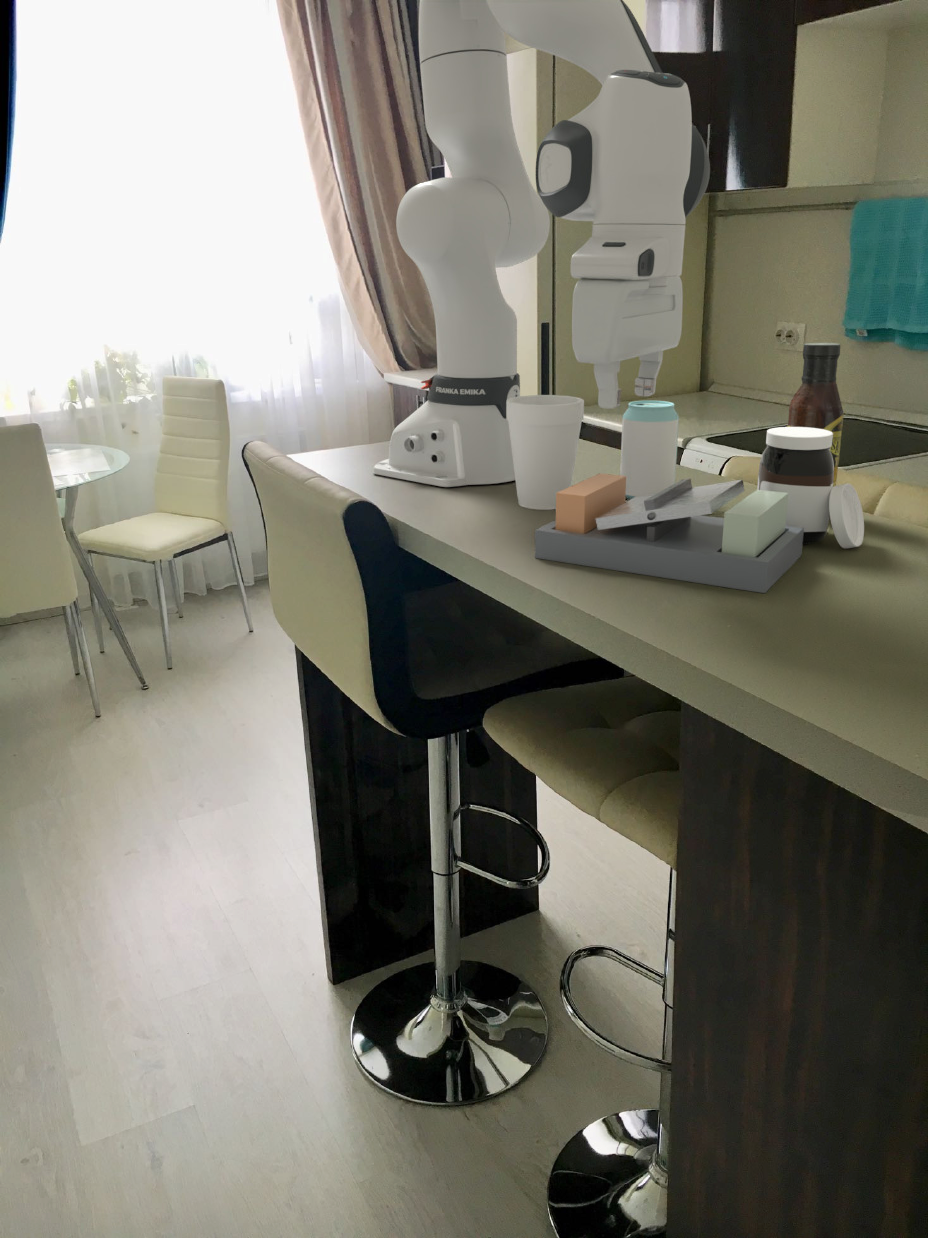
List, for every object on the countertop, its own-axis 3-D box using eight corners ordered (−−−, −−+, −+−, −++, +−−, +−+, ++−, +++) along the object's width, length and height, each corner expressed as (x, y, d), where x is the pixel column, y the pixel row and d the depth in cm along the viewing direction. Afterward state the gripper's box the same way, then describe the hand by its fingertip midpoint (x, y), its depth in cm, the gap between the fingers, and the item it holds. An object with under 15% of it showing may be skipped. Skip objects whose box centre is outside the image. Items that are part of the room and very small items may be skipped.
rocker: (596, 530, 102) (592, 509, 102) (639, 506, 112) (635, 487, 111) (710, 514, 96) (706, 491, 95) (745, 490, 105) (741, 469, 104)
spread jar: (749, 523, 118) (758, 423, 114) (850, 526, 116) (863, 425, 112) (759, 552, 107) (769, 442, 103) (871, 556, 105) (886, 444, 101)
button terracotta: (555, 530, 105) (556, 492, 104) (598, 508, 114) (599, 473, 112) (583, 534, 103) (584, 496, 102) (624, 511, 112) (626, 475, 111)
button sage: (721, 553, 96) (724, 512, 95) (753, 527, 105) (756, 489, 104) (754, 557, 95) (758, 516, 94) (784, 531, 104) (788, 492, 102)
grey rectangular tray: (534, 557, 106) (535, 516, 104) (589, 527, 117) (591, 489, 115) (764, 593, 94) (769, 546, 92) (801, 555, 105) (805, 513, 104)
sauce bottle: (836, 520, 119) (856, 346, 112) (781, 517, 120) (798, 345, 113) (828, 506, 125) (847, 341, 118) (776, 505, 126) (792, 340, 119)
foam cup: (525, 515, 122) (526, 407, 118) (494, 499, 130) (494, 397, 126) (594, 507, 126) (597, 402, 121) (560, 492, 134) (562, 393, 129)
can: (616, 501, 129) (620, 406, 125) (621, 489, 135) (625, 398, 131) (672, 503, 127) (678, 407, 123) (675, 491, 134) (680, 399, 130)
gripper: (645, 255, 108) (636, 386, 112) (562, 257, 91) (556, 411, 96) (702, 255, 105) (691, 391, 109) (627, 259, 88) (617, 418, 93)
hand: (627, 401), depth 103 cm, fingers open, 8 cm apart
